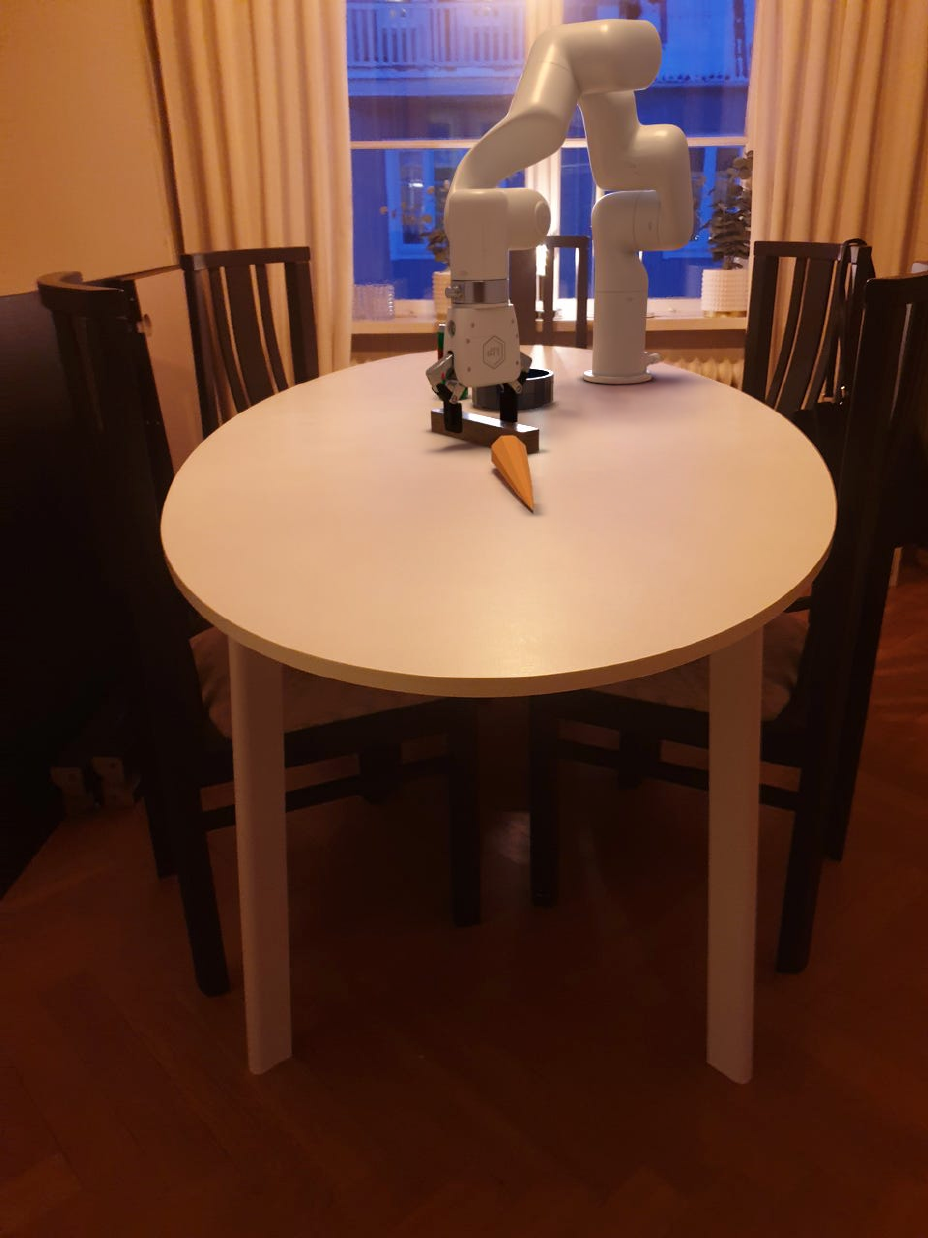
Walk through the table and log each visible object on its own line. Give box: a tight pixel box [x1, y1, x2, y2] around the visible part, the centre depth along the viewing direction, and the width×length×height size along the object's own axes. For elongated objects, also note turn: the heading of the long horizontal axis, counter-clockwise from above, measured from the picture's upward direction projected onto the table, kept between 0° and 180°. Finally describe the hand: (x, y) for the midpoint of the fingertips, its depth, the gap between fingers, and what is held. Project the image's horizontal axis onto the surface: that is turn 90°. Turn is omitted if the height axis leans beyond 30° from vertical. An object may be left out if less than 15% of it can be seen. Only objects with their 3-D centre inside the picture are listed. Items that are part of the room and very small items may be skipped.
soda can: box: [436, 323, 469, 400], centre depth 152 cm, size 5×5×12 cm
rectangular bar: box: [430, 408, 540, 455], centre depth 124 cm, size 3×20×3 cm, turn 38°
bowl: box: [471, 367, 555, 412], centre depth 147 cm, size 13×13×5 cm
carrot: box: [490, 435, 534, 511], centre depth 102 cm, size 20×4×4 cm, turn 6°
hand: (481, 426), depth 123 cm, fingers open, 9 cm apart
